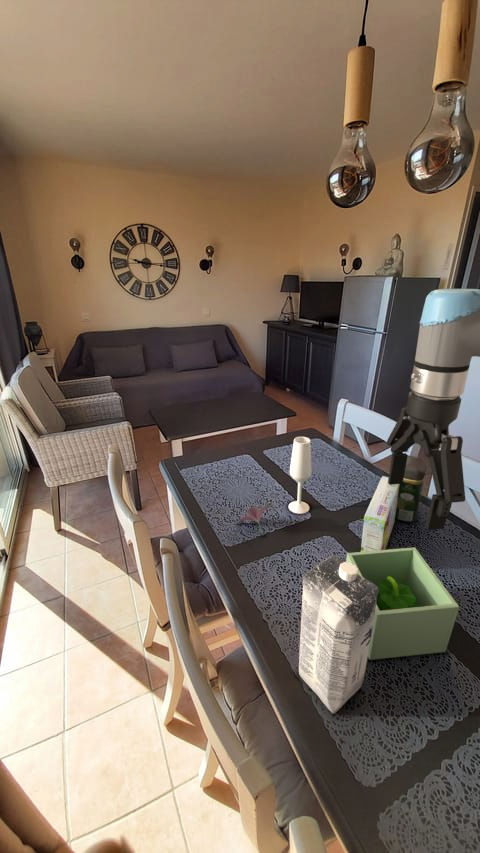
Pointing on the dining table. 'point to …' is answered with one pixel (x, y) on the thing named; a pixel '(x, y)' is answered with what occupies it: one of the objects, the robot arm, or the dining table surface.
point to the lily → (254, 514)
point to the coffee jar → (410, 490)
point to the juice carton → (335, 630)
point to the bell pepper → (394, 596)
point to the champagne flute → (300, 470)
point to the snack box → (380, 517)
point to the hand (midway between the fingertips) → (412, 503)
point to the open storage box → (407, 626)
